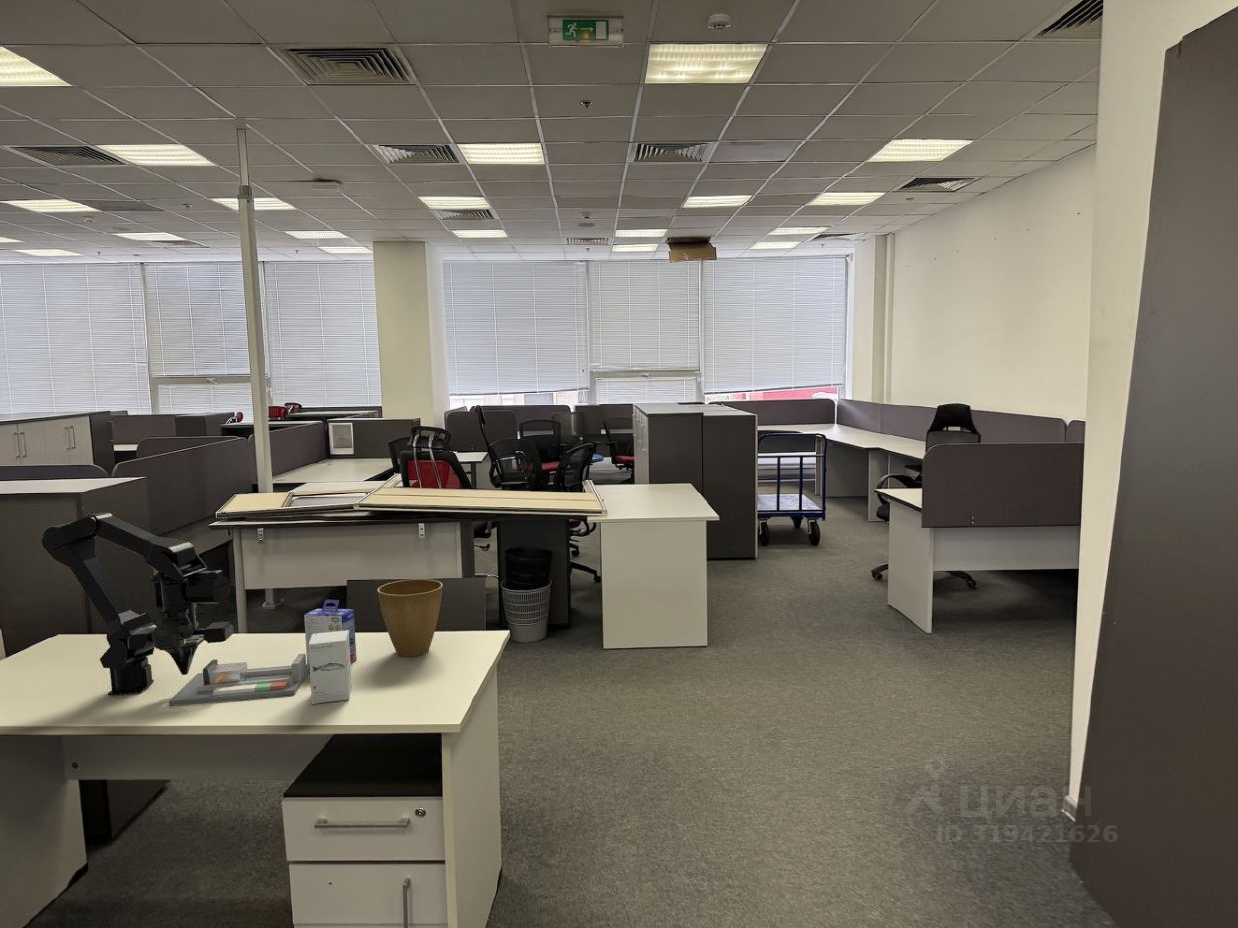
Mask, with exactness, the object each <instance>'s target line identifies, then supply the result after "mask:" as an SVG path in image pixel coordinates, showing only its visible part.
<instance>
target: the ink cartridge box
mask: <svg viewBox="0 0 1238 928" xmlns="http://www.w3.org/2000/svg"><path fill="white" fill-rule="evenodd" d="M339 602H340V600H339V599H325V600H324V602H323V606H322V608H316V609H313V610H311V611H308V612H307V613H305V614H304V615H303V616H304V617H303V618H304V632H305V634H304V635H305V651H306V653H305V654H306V664H309V642H310V639H311V636H312V634H316V633H326V632H337V631H346V630H349V646H350V664H352V663H354V662H355V660H356V661H357V642H356V631H355V630H356V629H355V628H356V626H355V610H354V608H353V609H349V608H339V604H340V603H339ZM331 603H332V604H334V606H331V605H327V604H331Z"/></svg>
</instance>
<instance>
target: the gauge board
mask: <svg viewBox="0 0 1238 928" xmlns="http://www.w3.org/2000/svg"><path fill="white" fill-rule="evenodd" d="M247 669H248V676H247V677H246V678H245V679H244V680H243V682H235V683H223V684H212V685H204V680H203V672H200V673H199V672H198V673H196V674H195V675H194V677H192V678H191V679H190V680H189V681H188V682H186V684H185V685H184V686H183V687H182V688H181V689H180V690H178V691H177V693H176V694H174V696H173V697H171V698H170V700H169V701H168V705H169V706H170V707H173V706H181V705H182V706H183V705H193V704H195V705H196V704H204V703H214V702H215V703H217V702H228V701H238V700H249V699H250V700H251V699H261V698H270V697H283V696H294V695H296V694H297V692H298V690H299V689H300V687H301V686H302V684H303V682H304V681H305V680H306V678H307V676H308V675H309V674H310V664H307V654H306V653H299V654H297V656H296V658H295V659H294V660H293V661H292V663H291V665H284V666H283V665H282V666H270V667H269V666H268V667H259V668H247Z"/></svg>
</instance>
